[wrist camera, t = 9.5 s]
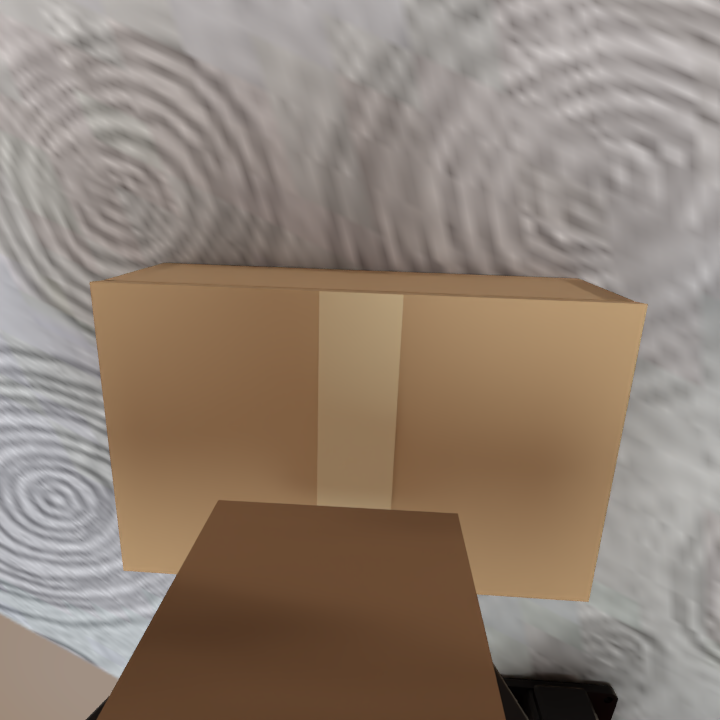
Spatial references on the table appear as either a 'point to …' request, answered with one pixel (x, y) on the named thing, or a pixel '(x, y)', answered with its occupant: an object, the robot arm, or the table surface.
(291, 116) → the table surface
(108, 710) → the walnut block
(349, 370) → the lid
